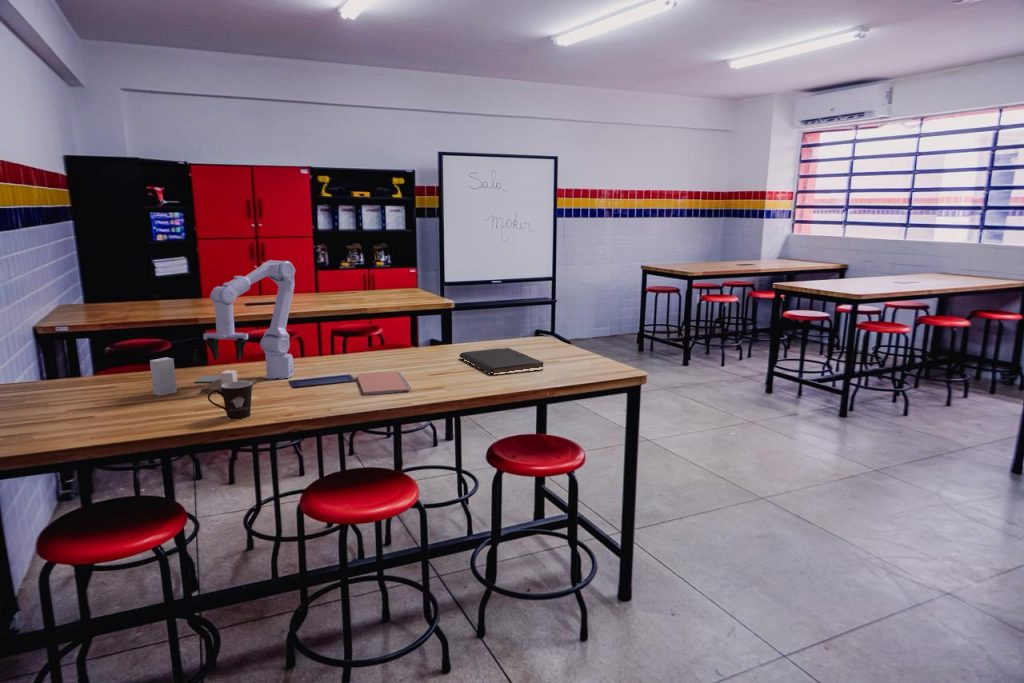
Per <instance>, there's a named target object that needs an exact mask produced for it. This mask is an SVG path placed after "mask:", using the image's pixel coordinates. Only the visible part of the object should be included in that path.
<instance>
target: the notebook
mask: <svg viewBox="0 0 1024 683" xmlns="http://www.w3.org/2000/svg"><path fill="white" fill-rule="evenodd" d="M355 375H356V377H357V380H358V383H359V385H360V388H361V391H362V393H363V395H364V396H368V395H381V394H383V393H384V394H394V392H397V393H404V392H403V391H409V392H410V389H411V390H412V387H411V385H410V384H409V382H408V381H407V380H406V379H405V377H404V375H403V374H402V373H401V372H400V371H398V370H397V371H384V372H383V371H382V372H365V373H356V374H355ZM409 387H410V389H409ZM384 394H383V395H384Z"/></svg>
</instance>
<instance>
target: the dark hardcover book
mask: <svg viewBox="0 0 1024 683" xmlns="http://www.w3.org/2000/svg"><path fill="white" fill-rule="evenodd" d="M459 357H461V358H463V359H465V360H467V361H469V362H470V363H472V364H474V365H475V366H477V367H479V368H480V369H482V370H484V371H486V372H488V373H490V374H491V375H493V374H494V373H500V372H509V371H515V370H523V369H530V368H539V367H543V368H544V363H545V362H543V361H541V360H538V359H537V358H534V357H531V356H530V355H527V354H524V353H522V352H519V351H517V350H514V349H513V348H509V347H504V348H490V349H482V350H471V351H463V352H460V354H459ZM475 366H474V367H475ZM477 367H476V368H477ZM480 369H479V370H480ZM482 370H481V371H482ZM484 371H483V372H484ZM486 372H485V373H486ZM491 372H493V374H492V373H491ZM488 373H487V374H488ZM490 374H489V375H490Z"/></svg>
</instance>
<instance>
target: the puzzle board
mask: <svg viewBox="0 0 1024 683" xmlns="http://www.w3.org/2000/svg"><path fill="white" fill-rule="evenodd" d="M237 381H249V382H252V387H254V386H255V385H257V384H256V383H257V379H237ZM254 384H255V385H254ZM253 385H254V386H253ZM215 390H217V391H220V392H222V389H221V379H217V380H215V381H214V382H212V383H208V384H207V385H205V386H204V387H202V388H201V393H202V392H212V391H215Z"/></svg>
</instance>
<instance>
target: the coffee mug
mask: <svg viewBox="0 0 1024 683" xmlns="http://www.w3.org/2000/svg"><path fill="white" fill-rule="evenodd" d="M221 389H222V392H220V391H217V390H215V391H212V392H210V393H207V399H208V401H209V403H211V404H212V405H213V406H216V407H218V408H221V409H223V410H224V411H225V413H226V417H228V418H230V419H229V420H231V419H239V420H243V419H242V418H245V419H247V418H246V417H248V418H250V417H249V416H251V409H252V408H251V407H252V395H253V394H252V391H253V386H252V382H249V381H234V382H228V383H224V384H222V385H221ZM215 392H217V393H215ZM212 394H219V395H220V396H221V397H222V398H223V402H224V406H222V405H220V404H217V403H215V402H213V400H211V395H212ZM228 418H227V419H228Z"/></svg>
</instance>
